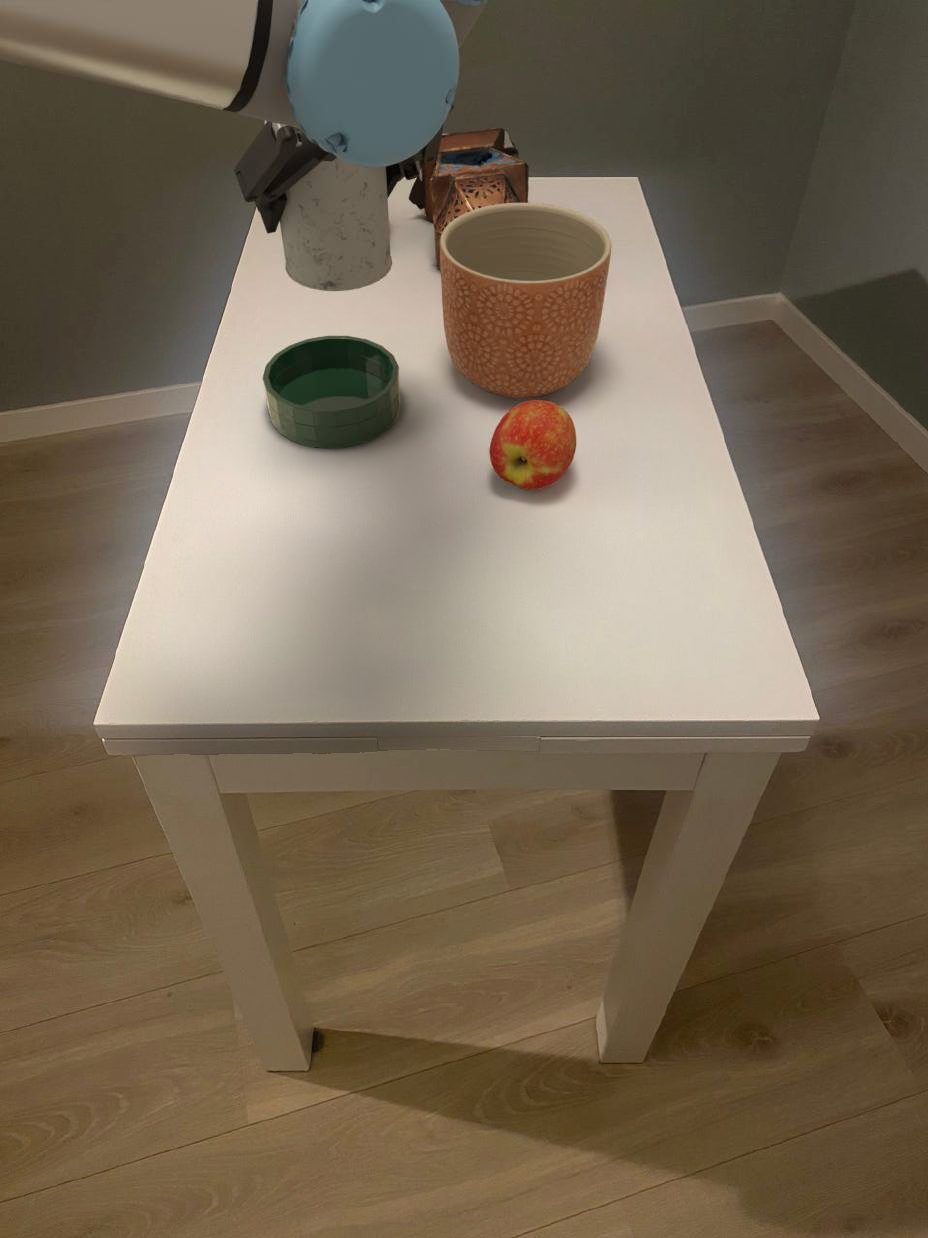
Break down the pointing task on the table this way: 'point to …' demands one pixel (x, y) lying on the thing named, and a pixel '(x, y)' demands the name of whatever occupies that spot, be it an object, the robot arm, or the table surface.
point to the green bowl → (332, 391)
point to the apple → (533, 444)
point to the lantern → (469, 177)
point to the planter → (523, 295)
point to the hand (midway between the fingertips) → (320, 205)
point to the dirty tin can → (337, 227)
